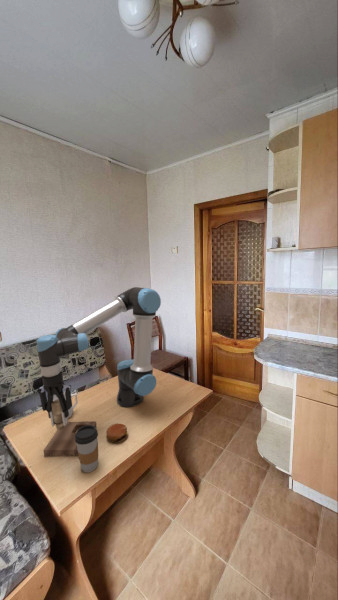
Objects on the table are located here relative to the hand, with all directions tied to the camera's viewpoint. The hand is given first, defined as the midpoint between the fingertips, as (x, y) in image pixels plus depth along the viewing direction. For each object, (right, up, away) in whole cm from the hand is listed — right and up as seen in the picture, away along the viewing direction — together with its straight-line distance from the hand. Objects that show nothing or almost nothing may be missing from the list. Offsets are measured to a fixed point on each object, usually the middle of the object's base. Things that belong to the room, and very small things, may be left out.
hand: (60, 423), depth 105 cm
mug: (-7, -8, +24) cm, 27 cm away
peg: (0, -2, 0) cm, 2 cm away
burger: (+23, -9, +6) cm, 26 cm away
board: (+3, -10, +5) cm, 12 cm away
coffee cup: (+16, -12, -9) cm, 22 cm away
